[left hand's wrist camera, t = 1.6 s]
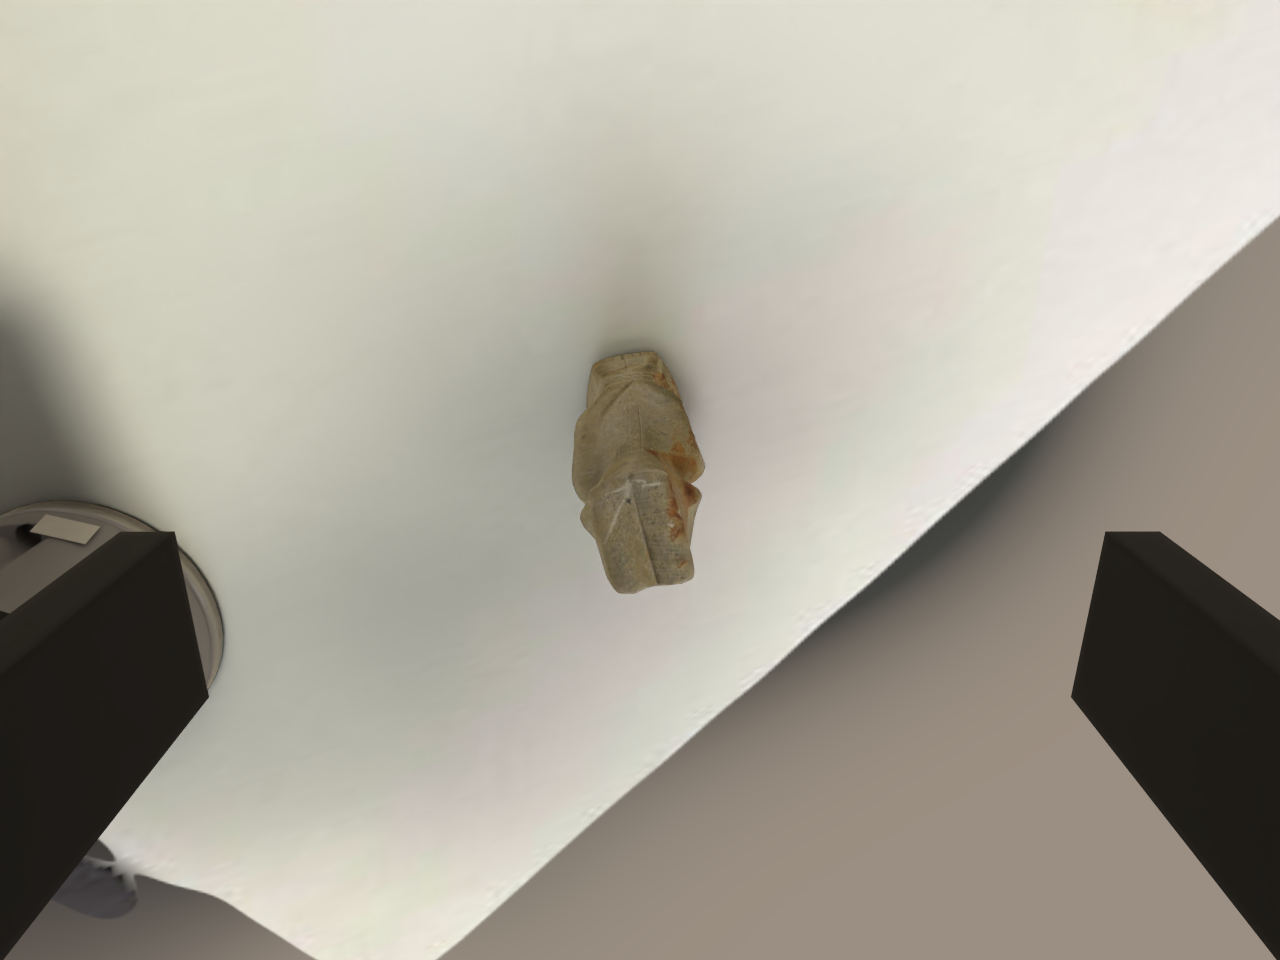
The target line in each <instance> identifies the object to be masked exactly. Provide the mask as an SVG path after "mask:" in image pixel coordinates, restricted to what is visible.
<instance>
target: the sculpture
mask: <svg viewBox="0 0 1280 960" xmlns="http://www.w3.org/2000/svg"><path fill="white" fill-rule="evenodd" d="M704 469H705V464H704V461H703V458H702V456H701V453H700V450H699V448H698V445H697V443H696V440H695V436H694V434H693V432H692V429H691V426H690V423H689V419H688V417H687V415H686V412H685V410H684V408H683V404H682V400H681V397H680V394H679V392H678V389H677V386H676V384H675V382H674V380H673V378H672V376H671V374H670V372H669V370H668V368H667V367H666V365H665V364H664V362H663V361H662V359H661V358H660V357H659V356H658V355H657V354H656V353H655V352H637V353H630V354H624V355H619V356H614V357H610V358H606V359H603V360H600V361H598V362H596V363H594V364H593V366H592V369H591V372H590V377H589V383H588V390H587V409H586V411H585V412H584V413H583V414H582V415H581V416H580V418H579V419H578V421H577V423H576V428H575V434H574V453H573V464H572V481H573V486H574V488H575V491H576V493H577V495H578V497H579V498H580V499H581V500H582V501H583V502H584V503H585V504H586V505H585V507H584V508H583V510H582V512H581V515H580V519H581V522H582V524H583V526H584V528H585V529H586V530H587V531H588V532H589V533H590V534H591V535H592V536H593V537H594V538H595V540H596V542H597V546H598V549H599V552H600V555H601V559H602V563H603V566H604V570H605V573H606V576H607V578H608V580H609V582H610V584H611V585H612V587H613V588H614V589H615V590H616V591H617V592H618V593H622V594H634V593H637V592H639V591H641V590H644V589H646V588H648V587H652V586H659V585H674V584H682V583H684V582H687V581H689V580H691V579H692V578H693V576H694V565H693V559H692V555H691V551H690V543H691V537H692V531H693V525H694V519H695V515H696V511H697V508H698V506H699V503H700V501H701V498H702V494H701V492H700V491H699V490H698V489H697V488H696V487H694V486H693V485H691V483H693V482H695V481H696V480H697V479H698V478H699V477H700V476H701V475H702V474H703V472H704Z"/></svg>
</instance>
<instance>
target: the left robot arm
mask: <svg viewBox="0 0 1280 960" xmlns="http://www.w3.org/2000/svg"><path fill="white" fill-rule="evenodd" d="M222 649H223V632H222V624H221V619H220V615H219V611H218V608H217V605H216V602H215V600H214V598H213V595H212V593H211V591H210V589H209V587H208V586H207V584H206V582H205V580H204V579H203V577H202V576H201V574H200V573H199V572H198V570H197V569H196V568H195V566H194V565H193V564H192V563H191V561H190V560H189V559H188V558H187V557H186V556H185V555H184V554H183V553H182V552H181V551H180V550H179V549H178V546H177V541H176V536H175V532H157V531H155V530H154V529H152V528H150V527H149V526H147V525H146V524H144V523H142V522H140V521H138V520H136V519H134V518H132V517H130V516H127V515H125V514H123V513H120V512H118V511H115V510H112V509H109V508H106V507H102V506H98V505H94V504H88V503H82V502H73V501H48V502H39V503H34V504H29V505H25V506H22V507H19V508H16V509H13V510H11V511H9V512H7V513H4V514H3V515H1V516H0V960H3V959H4V958H5V957H6V956H7V954H8V953H9V952H10V950H11V949H12V948H13V947H14V945H15V944H16V943H17V942H18V940H19V939H20V938H21V936H22V935H23V934H24V933H25V931H26V930H27V929H28V928H29V926H30V925H31V924H32V922H33V921H34V920H35V919H36V917H37V916H38V915H39V913H40V912H41V911H42V910H43V908H44V907H45V906H46V904H47V903H48V902H49V901H50V899H51V898H52V897H53V896H54V894H55V893H56V892H57V890H58V889H59V888H60V887H61V885H62V884H63V883H64V882H65V880H66V879H67V878H68V876H69V875H70V874H71V873H72V871H73V870H74V869H75V867H76V866H77V865H78V864H79V862H80V861H81V860H82V859H83V857H84V856H85V855H86V853H87V852H88V851H89V850H90V848H91V847H92V846H93V844H94V843H95V842H96V841H97V839H98V838H99V837H100V836H101V834H102V833H103V832H104V830H105V829H106V828H107V827H108V825H109V824H110V823H111V821H112V820H113V819H114V818H115V816H116V815H117V814H118V813H119V811H120V810H121V809H122V807H123V806H124V805H125V804H126V802H127V801H128V800H129V798H130V797H131V796H132V795H133V793H134V792H135V791H136V790H137V788H138V787H139V786H140V784H141V783H142V782H143V781H144V779H145V778H146V777H147V775H148V774H149V773H150V772H151V770H152V769H153V768H154V767H155V765H156V764H157V763H158V761H159V760H160V759H161V758H162V756H163V755H164V754H165V752H166V751H167V750H168V749H169V747H170V746H171V745H172V744H173V742H174V741H175V740H176V738H177V737H178V736H179V735H180V733H181V732H182V731H183V729H184V728H185V727H186V726H187V724H188V723H189V722H190V721H191V719H192V718H193V717H194V715H195V714H196V713H197V712H198V710H199V709H200V708H201V707H202V705H203V704H204V703H205V701H206V700H207V699H208V698H209V695H208V690H207V689H208V688H209V687H210V685H211V683H212V681H213V680H214V678H215V676H216V673H217V671H218V668H219V665H220V661H221V657H222ZM1071 698H1072V699H1073V700H1074V701H1075V703H1076V704H1077V705H1078V706H1079V708H1080V709H1081V710H1082V712H1083V713H1084V714H1085V715H1086V717H1087V718H1088V719H1089V721H1090V722H1091V723H1092V724H1093V726H1094V727H1095V728H1096V729H1097V731H1098V732H1099V733H1100V735H1101V736H1102V737H1103V738H1104V740H1105V741H1106V742H1107V743H1108V745H1109V746H1110V747H1111V749H1112V750H1113V751H1114V752H1115V754H1116V755H1117V756H1118V758H1119V759H1120V760H1121V761H1122V763H1123V764H1124V765H1125V767H1126V768H1127V769H1128V770H1129V772H1130V773H1131V774H1132V775H1133V777H1134V778H1135V779H1136V781H1137V782H1138V783H1139V784H1140V786H1141V787H1142V788H1143V790H1144V791H1145V792H1146V793H1147V795H1148V796H1149V797H1150V798H1151V800H1152V801H1153V802H1154V804H1155V805H1156V806H1157V807H1158V809H1159V810H1160V811H1161V813H1162V814H1163V815H1164V816H1165V818H1166V819H1167V820H1168V821H1169V823H1170V824H1171V825H1172V827H1173V828H1174V829H1175V830H1176V832H1177V833H1178V834H1179V836H1180V837H1181V838H1182V839H1183V841H1184V842H1185V843H1186V844H1187V846H1188V847H1189V848H1190V850H1191V851H1192V852H1193V853H1194V855H1195V856H1196V857H1197V859H1198V860H1199V861H1200V862H1201V864H1202V865H1203V866H1204V867H1205V869H1206V870H1207V871H1208V873H1209V874H1210V875H1211V876H1212V878H1213V879H1214V880H1215V882H1216V883H1217V884H1218V885H1219V887H1220V888H1221V889H1222V890H1223V892H1224V893H1225V894H1226V896H1227V897H1228V898H1229V899H1230V901H1231V902H1232V903H1233V905H1234V906H1235V907H1236V908H1237V910H1238V911H1239V912H1240V913H1241V915H1242V916H1243V917H1244V919H1245V920H1246V921H1247V922H1248V924H1249V925H1250V926H1251V927H1252V929H1253V930H1254V931H1255V933H1256V934H1257V935H1258V936H1259V938H1260V939H1261V940H1262V941H1263V943H1264V944H1265V945H1266V947H1267V948H1268V949H1269V951H1270V952H1271V953H1272V954H1273V956H1274V957H1275V958H1276V959H1277V960H1280V620H1278V619H1277V618H1276V617H1274V616H1273V615H1272V614H1270V613H1269V612H1267V611H1266V610H1265V609H1263V608H1262V607H1261V606H1259V605H1258V604H1257V603H1255V602H1254V601H1253V600H1251V599H1250V598H1249V597H1247V596H1246V595H1245V594H1243V593H1242V592H1241V591H1239V590H1238V589H1236V588H1235V587H1234V586H1232V585H1231V584H1230V583H1228V582H1227V581H1226V580H1224V579H1223V578H1222V577H1220V576H1219V575H1218V574H1216V573H1215V572H1214V571H1212V570H1211V569H1209V568H1208V567H1207V566H1205V565H1204V564H1203V563H1201V562H1200V561H1199V560H1197V559H1196V558H1195V557H1193V556H1192V555H1191V554H1189V553H1188V552H1187V551H1185V550H1184V549H1183V548H1181V547H1180V546H1178V545H1177V544H1176V543H1174V542H1173V541H1172V540H1170V539H1169V538H1168V537H1166V536H1165V535H1164V534H1162V533H1161V532H1105V536H1104V541H1103V546H1102V551H1101V556H1100V561H1099V565H1098V570H1097V575H1096V580H1095V584H1094V589H1093V594H1092V599H1091V604H1090V609H1089V613H1088V618H1087V623H1086V628H1085V632H1084V637H1083V642H1082V647H1081V652H1080V656H1079V661H1078V666H1077V671H1076V676H1075V680H1074V685H1073V690H1072V695H1071Z"/></svg>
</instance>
